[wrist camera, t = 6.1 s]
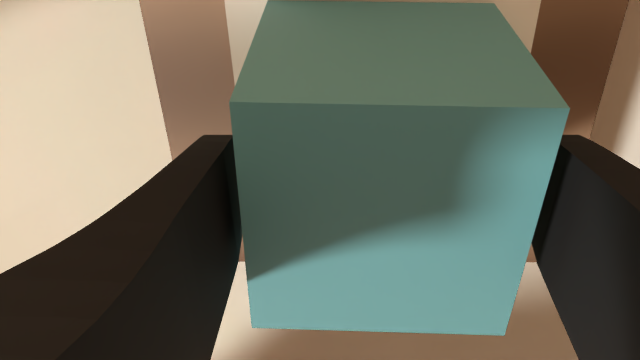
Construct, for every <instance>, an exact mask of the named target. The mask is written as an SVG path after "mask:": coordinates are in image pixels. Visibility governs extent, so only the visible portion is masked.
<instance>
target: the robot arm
mask: <svg viewBox="0 0 640 360" xmlns="http://www.w3.org/2000/svg"><path fill="white" fill-rule="evenodd" d="M241 242H242V225H241V215H240V205H239V195H238V185H237V175H236V166H235V156H234V146H233V136H232V135H203V136H201V137H200V138H199V139H197V140H196V141H195V142H194V143H193V144H191V145H190V146H189V147H188V148H187V149H186V150H184V151H183V152H182V153H181V154H180V155H179V156H177V157H176V158H175V159H174V160H173V161H172V162H171V163H169V164H168V165H167V166H166V167H165V168H163V169H162V170H161V171H160V172H159V173H157V174H156V175H155V176H154V177H153V178H151V179H150V180H149V181H148V182H147V183H145V184H144V185H143V186H142V187H140V188H139V189H138V190H136V191H135V192H134V193H132V194H131V195H130V196H128V197H127V198H126V199H124V200H123V201H122V202H120V203H119V204H118V205H116V206H115V207H114V208H112V209H111V210H110V211H108V212H107V213H105V214H104V215H103V216H101V217H100V218H98V219H97V220H95V221H94V222H92V223H91V224H89V225H88V226H86V227H84V228H83V229H81V230H80V231H78V232H76V233H75V234H73V235H71V236H70V237H68V238H66V239H65V240H63V241H62V242H60V243H58V244H56V245H55V246H53V247H51V248H49V249H48V250H46V251H44V252H42V253H40V254H38V255H36V256H34V257H32V258H30V259H28V260H26V261H24V262H23V263H21V264H19V265H17V266H15V267H13V268H11V269H9V270H7V271H5V272H3V273H1V274H0V360H211V355H212V352H213V349H214V345H215V342H216V338H217V335H218V331H219V328H220V324H221V321H222V317H223V314H224V311H225V307H226V304H227V300H228V297H229V293H230V290H231V286H232V283H233V279H234V276H235V272H236V268H237V265H238V261H239V255H240V248H241ZM531 244H532V247H533V251H534V254H535V258H536V261H537V264H538V267H539V269H540V272H541V274H542V276H543V279H544V281H545V283H546V286H547V288H548V290H549V293H550V295H551V297H552V300H553V302H554V304H555V306H556V309H557V311H558V313H559V316H560V318H561V320H562V322H563V325H564V327H565V329H566V331H567V334H568V336H569V338H570V341H571V343H572V345H573V347H574V350H575V352H576V354H577V356H578V359H579V360H640V169H639V168H637V167H635V166H634V165H632V164H630V163H629V162H627V161H625V160H624V159H622V158H620V157H619V156H617V155H616V154H614V153H612V152H611V151H609V150H607V149H605V148H604V147H602V146H600V145H598V144H597V143H595V142H593V141H591V140H589V139H587V138H585V137H583V136H581V135H562V138H561V142H560V145H559V149H558V152H557V155H556V159H555V162H554V166H553V169H552V173H551V176H550V180H549V183H548V187H547V190H546V194H545V197H544V200H543V204H542V207H541V211H540V214H539V218H538V221H537V225H536V228H535V232H534V235H533V239H532V242H531Z"/></svg>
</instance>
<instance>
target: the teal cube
mask: <svg viewBox="0 0 640 360" xmlns="http://www.w3.org/2000/svg"><path fill="white" fill-rule="evenodd" d="M229 106H230V116H231V126H232V136H233V146H234V156H235V166H236V175H237V185H238V195H239V205H240V215H241V225H242V235H243V245H244V255H245V264H246V274H247V284H248V294H249V304H250V314H251V324H252V328H274V329H306V330H339V331H371V332H403V333H436V334H468V335H501V336H505V332H506V329H507V325H508V322H509V318H510V315H511V311H512V308H513V304H514V301H515V298H516V294H517V291H518V287H519V284H520V280H521V277H522V273H523V270H524V266H525V263H526V259H527V256H528V252H529V249H530V246H531V242H532V239H533V235H534V232H535V228H536V225H537V221H538V218H539V214H540V211H541V207H542V204H543V200H544V197H545V194H546V190H547V187H548V183H549V180H550V176H551V173H552V169H553V166H554V162H555V159H556V155H557V152H558V149H559V145H560V142H561V138H562V135H563V131H564V128H565V124H566V121H567V117H568V114H569V110H570V108H569V106H568V105H567V103H566V102H565V101H564V99H563V98H562V96H561V95H560V94H559V92H558V91H557V89H556V88H555V87H554V85H553V84H552V83H551V81H550V80H549V78H548V77H547V76H546V74H545V73H544V71H543V70H542V69H541V67H540V66H539V65H538V63H537V62H536V60H535V59H534V58H533V56H532V55H531V53H530V52H529V51H528V49H527V48H526V46H525V45H524V44H523V42H522V41H521V40H520V38H519V37H518V35H517V34H516V33H515V31H514V30H513V28H512V27H511V26H510V24H509V23H508V22H507V20H506V19H505V17H504V16H503V15H502V13H501V12H500V10H499V9H498V8H497V6H496V5H495V3H440V2H365V1H289V0H268V1H267V3H266V6H265V9H264V11H263V14H262V17H261V19H260V22H259V24H258V27H257V30H256V32H255V35H254V38H253V40H252V43H251V46H250V48H249V51H248V53H247V56H246V59H245V61H244V64H243V67H242V69H241V72H240V74H239V77H238V80H237V82H236V85H235V88H234V90H233V93H232V96H231V98H230V101H229Z"/></svg>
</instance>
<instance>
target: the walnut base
mask: <svg viewBox="0 0 640 360" xmlns="http://www.w3.org/2000/svg"><path fill="white" fill-rule="evenodd" d="M267 1H268V0H139V2H140V7H141V12H142V17H143V21H144V26H145V31H146V36H147V41H148V45H149V50H150V55H151V60H152V64H153V69H154V74H155V79H156V84H157V88H158V93H159V98H160V103H161V108H162V112H163V117H164V122H165V127H166V131H167V136H168V141H169V146H170V151H171V155H172V160H174V159H175V158H176V157H177V156H179V155H180V154H181V153H182V152H183V151H184V150H186V149H187V148H188V147H189V146H190V145H191V144H193V143H194V142H195V141H196V140H197V139H199V138H200V137H201V136H203V135H232V126H231V116H230V106H229V101H230V98H231V96H232V93H233V90H234V88H235V85H236V82H237V80H238V77H239V74H240V72H241V69H242V67H243V64H244V61H245V59H246V56H247V53H248V51H249V48H250V46H251V43H252V40H253V38H254V35H255V32H256V30H257V27H258V24H259V22H260V19H261V17H262V14H263V11H264V9H265V6H266V3H267ZM289 1H365V2H440V3H495V5H496V6H497V8H498V9H499V10H500V12H501V13H502V15H503V16H504V17H505V19H506V20H507V22H508V23H509V24H510V26H511V27H512V28H513V30H514V31H515V33H516V34H517V35H518V37H519V38H520V40H521V41H522V42H523V44H524V45H525V46H526V48H527V49H528V51H529V52H530V53H531V55H532V56H533V58H534V59H535V60H536V62H537V63H538V65H539V66H540V67H541V69H542V70H543V71H544V73H545V74H546V76H547V77H548V78H549V80H550V81H551V83H552V84H553V85H554V87H555V88H556V89H557V91H558V92H559V94H560V95H561V96H562V98H563V99H564V101H565V102H566V103H567V105H568V106H569V108H570V110H569V114H568V117H567V121H566V124H565V128H564V131H563V135H581V136H583V137H585V138H587V139H589V138H590V135H591V131H592V128H593V124H594V121H595V117H596V114H597V110H598V107H599V103H600V100H601V96H602V93H603V89H604V86H605V82H606V79H607V75H608V72H609V68H610V65H611V61H612V58H613V54H614V51H615V47H616V44H617V41H618V37H619V34H620V30H621V27H622V23H623V20H624V16H625V13H626V9H627V6H628V2H629V0H289ZM239 261H245V255H244V245H243V235H242V242H241V248H240V255H239ZM526 262H537V261H536V258H535V254H534V251H533V247H532V244H531V246H530V249H529V252H528V256H527V259H526Z"/></svg>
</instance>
